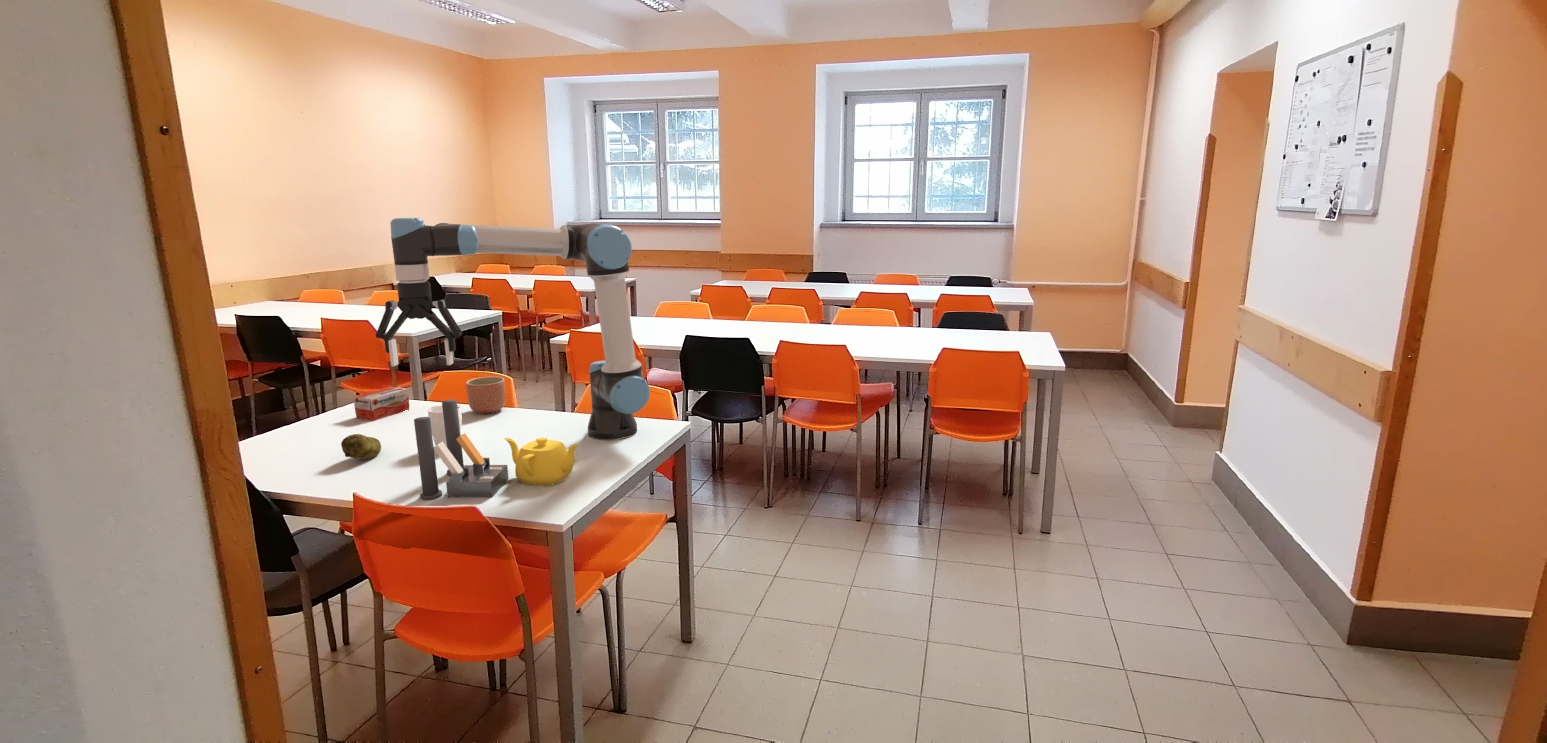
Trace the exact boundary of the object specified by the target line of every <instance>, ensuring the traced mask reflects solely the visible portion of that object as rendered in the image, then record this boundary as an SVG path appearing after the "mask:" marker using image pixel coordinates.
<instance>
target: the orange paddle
mask: <svg viewBox="0 0 1547 743" xmlns="http://www.w3.org/2000/svg"><path fill="white" fill-rule="evenodd" d="M456 440H457V441H458V443H459V444H460V445H461V447H462V450H463V451H464V452H465V454H466V455H467V456H468V458H469V460H470V461H471V463H472V464H483V467H485V466H486V465H487V462H486V461H485V460H484V459H483V458H484V457H483V456H482V455H481V454H480V452H479V451H478V449H477V448H476V446H475V445H474V443H472V441H471V440H470V438H469V437H468V435H467V434H466V432H464V433H461V436H459V437H458V438H457V439H456Z"/></svg>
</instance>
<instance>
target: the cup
mask: <svg viewBox="0 0 1547 743" xmlns="http://www.w3.org/2000/svg"><path fill="white" fill-rule="evenodd" d="M457 408H458V417H459V427H460V436H461V435H462V422H463V421H462V418H463V416H462V411H461V406H460V405H458V404H457ZM427 414H428V416H427V417H430V421H431V429H432V438H433V443H434V447H435V446H436V445H437V444H439V443H440V442H442V441H443V443H444V444H445V445H446V447H447V443H446V434H445V425H444V417H443V408H442V404H439V405H436V406H432V407H430V408H429V409H427Z"/></svg>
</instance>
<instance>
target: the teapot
mask: <svg viewBox="0 0 1547 743" xmlns="http://www.w3.org/2000/svg"><path fill="white" fill-rule="evenodd" d="M504 440H505V441H506V442H507V443H508V444H509V445H510V449H511V456H512V461H513V463H514V465H515V468H514V469H515V471H514V473H515V477H516V479H517V480H518V481H519V482H520V484H521V483H522V484H524V483H525V485H529V484H530V486H538V485H548V486H553V485H552V484H555V485H557V484H556V483H558V484H560V483H562V482H563V481H564V480H566V479H567V478H568V477H570V475H571V473H572V470H573V467H574V465H575V451H576V449H577V447H578V446H580V443H577V444H576V443H575V444H572V445H570V446H569V448H567V447H566V445H565V444H564V442H562V441H559V440H554V439H548V438H547V437H539V438H536V439H535V440H532V441H529V442H528V443H526V444H524V445H523V446H521V447H520V449H519V446H518V444H517V442H516V441H515V440H514V439H512V438H508V437H504ZM565 478H566V479H565ZM562 480H563V481H562ZM559 482H560V483H559Z"/></svg>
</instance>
